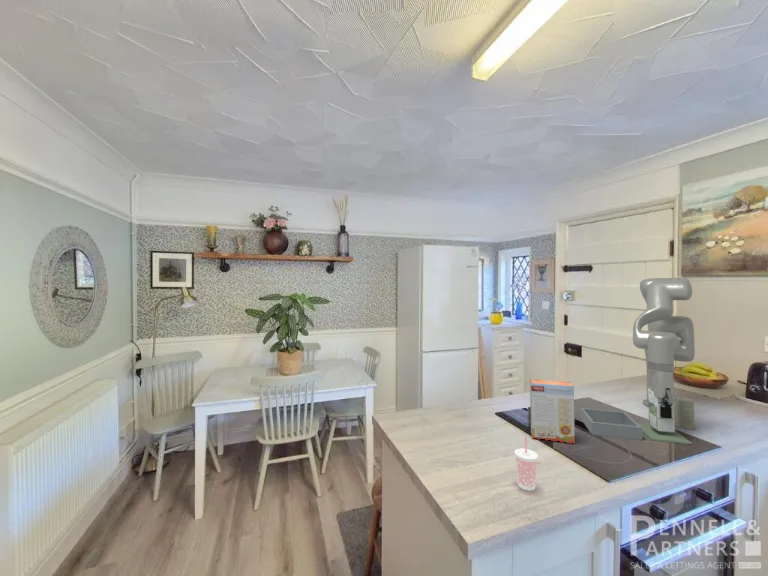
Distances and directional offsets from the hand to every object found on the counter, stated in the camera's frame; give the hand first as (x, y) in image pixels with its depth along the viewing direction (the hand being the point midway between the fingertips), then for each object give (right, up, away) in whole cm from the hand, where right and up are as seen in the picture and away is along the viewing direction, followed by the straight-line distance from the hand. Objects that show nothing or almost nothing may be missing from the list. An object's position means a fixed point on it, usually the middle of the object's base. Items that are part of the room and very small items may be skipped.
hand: (661, 413), depth 122 cm
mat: (0, -8, 0) cm, 8 cm away
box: (+15, -8, +7) cm, 18 cm away
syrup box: (0, -6, 0) cm, 6 cm away
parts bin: (-16, -8, +5) cm, 19 cm away
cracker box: (-43, -8, -3) cm, 44 cm away
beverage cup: (-65, -8, -31) cm, 73 cm away
